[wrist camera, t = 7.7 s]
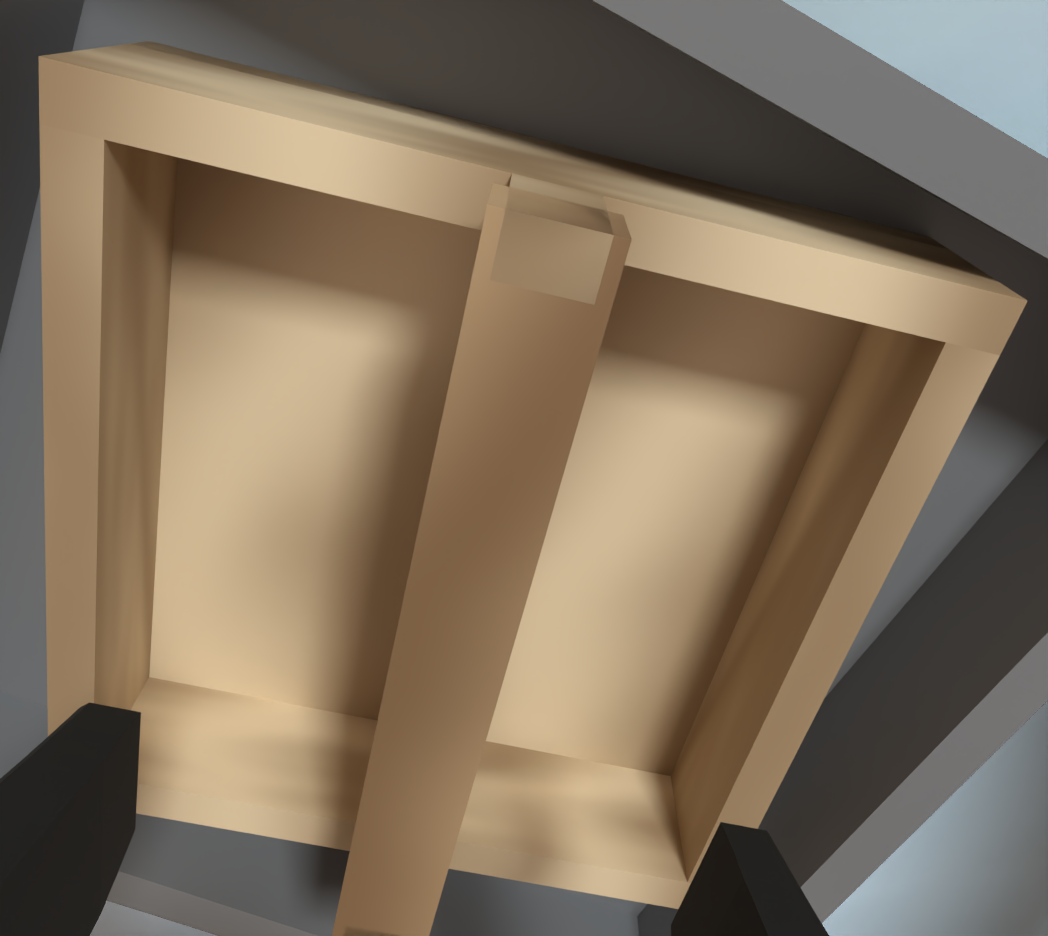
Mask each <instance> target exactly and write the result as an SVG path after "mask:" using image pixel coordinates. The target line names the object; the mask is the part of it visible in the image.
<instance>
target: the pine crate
mask: <svg viewBox="0 0 1048 936" xmlns="http://www.w3.org/2000/svg"><path fill="white" fill-rule="evenodd" d="M39 125H40V198H41V271H42V344H43V416H44V489H45V562H46V635H47V708H48V736H49V735H50V734H51V733H52V732H54V731H55V730H56V729H57V728H58V727H59V726H60V725H61V724H62V723H63V722H65V721H66V720H67V719H68V718H69V717H70V716H71V715H72V714H73V713H74V712H75V711H76V710H78V709H79V708H80V707H82V706H84V705H85V704H87V703H89V702H90V703H95V704H100V705H105V706H111V707H116V708H121V709H127V710H132V711H137V712H141V723H140V743H139V763H138V784H137V804H136V813H137V814H143V815H148V816H154V817H160V818H165V819H171V820H177V821H182V822H188V823H194V824H199V825H205V826H211V827H216V828H222V829H228V830H233V831H239V832H245V833H250V834H256V835H262V836H267V837H273V838H278V839H284V840H290V841H295V842H301V843H307V844H312V845H318V846H324V847H329V848H335V849H341V850H346V851H350V852H349V857H348V862H347V866H346V871H345V876H344V881H343V885H342V890H341V895H340V899H339V904H338V909H337V913H336V918H335V923H334V928H333V932H332V936H429V934H430V931H431V927H432V924H433V921H434V917H435V914H436V910H437V907H438V903H439V900H440V897H441V893H442V890H443V886H444V883H445V879H446V876H447V873H448V869H454V870H460V871H465V872H471V873H477V874H482V875H488V876H494V877H499V878H505V879H511V880H516V881H522V882H528V883H533V884H539V885H545V886H550V887H556V888H562V889H567V890H573V891H579V892H584V893H590V894H596V895H601V896H607V897H613V898H618V899H624V900H630V901H635V902H641V903H647V904H652V905H658V906H664V907H669V908H675V909H679V907H680V905H681V903H682V901H683V899H684V897H685V895H686V893H687V890H688V888H689V886H690V884H691V882H692V880H693V878H694V876H695V874H696V872H697V870H698V868H699V866H700V864H701V861H702V859H703V857H704V855H705V853H706V851H707V849H708V847H709V845H710V843H711V841H712V839H713V837H714V835H715V833H716V830H717V828H718V826H719V824H720V822H724V823H729V824H735V825H740V826H745V827H750V828H756V829H758V827H759V825H760V823H761V821H762V819H763V817H764V815H765V813H766V811H767V810H768V808H769V806H770V804H771V802H772V800H773V798H774V796H775V794H776V792H777V790H778V788H779V786H780V784H781V782H782V780H783V778H784V776H785V774H786V772H787V770H788V768H789V767H790V765H791V763H792V761H793V759H794V757H795V755H796V753H797V751H798V749H799V747H800V745H801V743H802V741H803V739H804V737H805V735H806V733H807V731H808V729H809V727H810V726H811V724H812V722H813V720H814V718H815V716H816V714H817V712H818V710H819V708H820V706H821V704H822V702H823V700H824V698H825V696H826V694H827V692H828V690H829V688H830V686H831V684H832V683H833V681H834V679H835V677H836V675H837V673H838V671H839V669H840V667H841V665H842V663H843V661H844V659H845V657H846V655H847V653H848V651H849V649H850V647H851V645H852V643H853V641H854V640H855V638H856V636H857V634H858V632H859V630H860V628H861V626H862V624H863V622H864V620H865V618H866V616H867V614H868V612H869V610H870V608H871V606H872V604H873V602H874V600H875V598H876V597H877V595H878V593H879V591H880V589H881V587H882V585H883V583H884V581H885V579H886V577H887V575H888V573H889V571H890V569H891V567H892V565H893V563H894V561H895V559H896V557H897V556H898V554H899V552H900V550H901V548H902V546H903V544H904V542H905V540H906V538H907V536H908V534H909V532H910V530H911V528H912V526H913V524H914V522H915V520H916V518H917V516H918V514H919V513H920V511H921V509H922V507H923V505H924V503H925V501H926V499H927V497H928V495H929V493H930V491H931V489H932V487H933V485H934V483H935V481H936V479H937V477H938V475H939V473H940V471H941V470H942V468H943V466H944V464H945V462H946V460H947V458H948V456H949V454H950V452H951V450H952V448H953V446H954V444H955V442H956V440H957V438H958V436H959V434H960V432H961V430H962V428H963V427H964V425H965V423H966V421H967V419H968V417H969V415H970V413H971V411H972V409H973V407H974V405H975V403H976V401H977V399H978V397H979V395H980V393H981V391H982V389H983V387H984V386H985V384H986V382H987V380H988V378H989V376H990V374H991V372H992V370H993V368H994V366H995V364H996V362H997V360H998V358H999V356H1000V354H1001V352H1002V350H1003V348H1004V346H1005V344H1006V343H1007V341H1008V339H1009V337H1010V335H1011V333H1012V331H1013V329H1014V327H1015V325H1016V323H1017V321H1018V319H1019V317H1020V315H1021V313H1022V311H1023V309H1024V307H1025V305H1026V303H1027V300H1026V299H1024V298H1023V297H1021V296H1020V295H1018V294H1017V293H1015V292H1014V291H1012V290H1010V289H1009V288H1007V287H1006V286H1004V285H1003V284H1001V283H1000V282H998V281H997V280H995V279H994V278H992V277H991V276H989V275H987V274H986V273H984V272H983V271H981V270H980V269H978V268H977V267H975V266H974V265H972V264H971V263H969V262H968V261H966V260H964V259H963V258H961V257H960V256H958V255H957V254H955V253H954V252H952V251H951V250H949V249H948V248H946V247H945V246H943V245H941V244H940V243H938V242H937V241H935V240H934V239H932V238H931V237H927V236H923V235H919V234H915V233H911V232H907V231H903V230H899V229H895V228H891V227H887V226H883V225H879V224H875V223H871V222H867V221H863V220H860V219H856V218H852V217H848V216H844V215H840V214H836V213H832V212H828V211H824V210H820V209H816V208H812V207H808V206H804V205H800V204H796V203H792V202H788V201H784V200H780V199H776V198H772V197H768V196H764V195H760V194H756V193H752V192H748V191H744V190H740V189H736V188H732V187H728V186H724V185H720V184H716V183H712V182H708V181H704V180H700V179H696V178H693V177H689V176H685V175H681V174H677V173H673V172H669V171H665V170H661V169H657V168H653V167H649V166H645V165H641V164H637V163H633V162H629V161H625V160H621V159H617V158H613V157H609V156H605V155H601V154H597V153H593V152H589V151H585V150H581V149H577V148H573V147H569V146H565V145H561V144H557V143H553V142H549V141H545V140H541V139H537V138H533V137H529V136H526V135H522V134H518V133H514V132H510V131H506V130H502V129H498V128H494V127H490V126H486V125H482V124H478V123H474V122H470V121H466V120H462V119H458V118H454V117H450V116H446V115H442V114H438V113H434V112H430V111H426V110H422V109H418V108H414V107H410V106H406V105H402V104H398V103H394V102H390V101H386V100H382V99H378V98H374V97H370V96H366V95H362V94H359V93H355V92H351V91H347V90H343V89H339V88H335V87H331V86H327V85H323V84H319V83H315V82H311V81H307V80H303V79H299V78H295V77H291V76H287V75H283V74H279V73H275V72H271V71H267V70H263V69H259V68H255V67H251V66H247V65H243V64H239V63H235V62H231V61H227V60H223V59H219V58H215V57H211V56H207V55H203V54H199V53H195V52H192V51H188V50H184V49H180V48H176V47H172V46H168V45H164V44H160V43H156V42H152V41H145V42H137V43H130V44H123V45H116V46H108V47H101V48H94V49H87V50H79V51H72V52H65V53H57V54H50V55H43V56H39Z"/></svg>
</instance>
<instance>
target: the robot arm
mask: <svg viewBox="0 0 1048 936" xmlns="http://www.w3.org/2000/svg"><path fill="white" fill-rule="evenodd" d="M140 723H141V712H137V711H132V710H127V709H121V708H116V707H111V706H105V705H100V704H95V703H90V702H89V703H87V704H85V705H84V706H82V707H80V708H79V709H78V710H76V711H75V712H74V713H73V714H72V715H71V716H70V717H69V718H68V719H67V720H66V721H65V722H63V723H62V724H61V725H60V726H59V727H58V728H57V729H56V730H55V731H54V732H52V733H51V734H50V735H49V736H48V737H47V738H46V739H45V740H44V741H43V742H41V743H40V744H39V745H38V746H37V747H36V748H35V749H34V750H32V751H31V752H30V753H29V754H28V755H27V756H26V757H25V758H23V759H22V760H21V761H20V762H19V763H18V764H17V765H15V766H14V767H13V768H12V769H11V770H10V771H8V772H7V773H6V774H5V775H4V776H3V777H2V778H0V936H89V935H90V933H91V932H92V930H93V928H94V926H95V924H96V922H97V920H98V918H99V916H100V914H101V912H102V909H103V907H104V905H105V902H106V900H107V898H108V895H109V893H110V890H111V888H112V886H113V883H114V881H115V879H116V876H117V874H118V871H119V869H120V866H121V864H122V861H123V859H124V856H125V854H126V851H127V849H128V846H129V844H130V841H131V839H132V836H133V834H134V831H135V825H136V804H137V784H138V763H139V743H140ZM671 936H829V935H828V933H827V932H826V930H825V928H824V927H823V925H822V923H821V922H820V920H819V918H818V917H817V915H816V913H815V911H814V910H813V908H812V906H811V905H810V903H809V901H808V899H807V898H806V896H805V894H804V893H803V891H802V889H801V888H800V886H799V884H798V882H797V881H796V879H795V877H794V875H793V874H792V872H791V870H790V869H789V867H788V865H787V864H786V862H785V860H784V858H783V857H782V855H781V853H780V852H779V850H778V848H777V847H776V845H775V843H774V842H773V840H772V838H771V837H770V835H769V833H768V831H766V830H761V829H756V828H750V827H745V826H740V825H735V824H729V823H724V822H720V824H719V826H718V828H717V830H716V833H715V835H714V837H713V839H712V841H711V843H710V845H709V847H708V849H707V851H706V853H705V855H704V857H703V859H702V861H701V864H700V866H699V868H698V870H697V872H696V874H695V876H694V878H693V880H692V882H691V884H690V886H689V888H688V890H687V893H686V895H685V897H684V899H683V901H682V903H681V905H680V907H679V909H678V911H677V913H676V915H675V917H674V919H673V921H672V924H671Z"/></svg>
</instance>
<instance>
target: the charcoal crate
mask: <svg viewBox="0 0 1048 936" xmlns="http://www.w3.org/2000/svg"><path fill="white" fill-rule="evenodd" d="M145 41H152V42H156V43H160V44H164V45H168V46H172V47H176V48H180V49H184V50H188V51H192V52H195V53H199V54H203V55H207V56H211V57H215V58H219V59H223V60H227V61H231V62H235V63H239V64H243V65H247V66H251V67H255V68H259V69H263V70H267V71H271V72H275V73H279V74H283V75H287V76H291V77H295V78H299V79H303V80H307V81H311V82H315V83H319V84H323V85H327V86H331V87H335V88H339V89H343V90H347V91H351V92H355V93H359V94H362V95H366V96H370V97H374V98H378V99H382V100H386V101H390V102H394V103H398V104H402V105H406V106H410V107H414V108H418V109H422V110H426V111H430V112H434V113H438V114H442V115H446V116H450V117H454V118H458V119H462V120H466V121H470V122H474V123H478V124H482V125H486V126H490V127H494V128H498V129H502V130H506V131H510V132H514V133H518V134H522V135H526V136H529V137H533V138H537V139H541V140H545V141H549V142H553V143H557V144H561V145H565V146H569V147H573V148H577V149H581V150H585V151H589V152H593V153H597V154H601V155H605V156H609V157H613V158H617V159H621V160H625V161H629V162H633V163H637V164H641V165H645V166H649V167H653V168H657V169H661V170H665V171H669V172H673V173H677V174H681V175H685V176H689V177H693V178H696V179H700V180H704V181H708V182H712V183H716V184H720V185H724V186H728V187H732V188H736V189H740V190H744V191H748V192H752V193H756V194H760V195H764V196H768V197H772V198H776V199H780V200H784V201H788V202H792V203H796V204H800V205H804V206H808V207H812V208H816V209H820V210H824V211H828V212H832V213H836V214H840V215H844V216H848V217H852V218H856V219H860V220H863V221H867V222H871V223H875V224H879V225H883V226H887V227H891V228H895V229H899V230H903V231H907V232H911V233H915V234H919V235H923V236H927V237H931V238H932V239H934V240H935V241H937V242H938V243H940V244H941V245H943V246H945V247H946V248H948V249H949V250H951V251H952V252H954V253H955V254H957V255H958V256H960V257H961V258H963V259H964V260H966V261H968V262H969V263H971V264H972V265H974V266H975V267H977V268H978V269H980V270H981V271H983V272H984V273H986V274H987V275H989V276H991V277H992V278H994V279H995V280H997V281H998V282H1000V283H1001V284H1003V285H1004V286H1006V287H1007V288H1009V289H1010V290H1012V291H1014V292H1015V293H1017V294H1018V295H1020V296H1021V297H1023V298H1024V299H1026V300H1027V303H1026V305H1025V307H1024V309H1023V311H1022V313H1021V315H1020V317H1019V319H1018V321H1017V323H1016V325H1015V327H1014V329H1013V331H1012V333H1011V335H1010V337H1009V339H1008V341H1007V343H1006V344H1005V346H1004V348H1003V350H1002V352H1001V354H1000V356H999V358H998V360H997V362H996V364H995V366H994V368H993V370H992V372H991V374H990V376H989V378H988V380H987V382H986V384H985V386H984V387H983V389H982V391H981V393H980V395H979V397H978V399H977V401H976V403H975V405H974V407H973V409H972V411H971V413H970V415H969V417H968V419H967V421H966V423H965V425H964V427H963V428H962V430H961V432H960V434H959V436H958V438H957V440H956V442H955V444H954V446H953V448H952V450H951V452H950V454H949V456H948V458H947V460H946V462H945V464H944V466H943V468H942V470H941V471H940V473H939V475H938V477H937V479H936V481H935V483H934V485H933V487H932V489H931V491H930V493H929V495H928V497H927V499H926V501H925V503H924V505H923V507H922V509H921V511H920V513H919V514H918V516H917V518H916V520H915V522H914V524H913V526H912V528H911V530H910V532H909V534H908V536H907V538H906V540H905V542H904V544H903V546H902V548H901V550H900V552H899V554H898V556H897V557H896V559H895V561H894V563H893V565H892V567H891V569H890V571H889V573H888V575H887V577H886V579H885V581H884V583H883V585H882V587H881V589H880V591H879V593H878V595H877V597H876V598H875V600H874V602H873V604H872V606H871V608H870V610H869V612H868V614H867V616H866V618H865V620H864V622H863V624H862V626H861V628H860V630H859V632H858V634H857V636H856V638H855V640H854V641H853V643H852V645H851V647H850V649H849V651H848V653H847V655H846V657H845V659H844V661H843V663H842V665H841V667H840V669H839V671H838V673H837V675H836V677H835V679H834V681H833V683H832V684H831V686H830V688H829V690H828V692H827V694H826V696H825V698H824V700H823V702H822V704H821V706H820V708H819V710H818V712H817V714H816V716H815V718H814V720H813V722H812V724H811V726H810V727H809V729H808V731H807V733H806V735H805V737H804V739H803V741H802V743H801V745H800V747H799V749H798V751H797V753H796V755H795V757H794V759H793V761H792V763H791V765H790V767H789V768H788V770H787V772H786V774H785V776H784V778H783V780H782V782H781V784H780V786H779V788H778V790H777V792H776V794H775V796H774V798H773V800H772V802H771V804H770V806H769V808H768V810H767V811H766V813H765V815H764V817H763V819H762V821H761V823H760V825H759V827H758V829H761V830H766V831H768V833H769V835H770V837H771V838H772V840H773V842H774V843H775V845H776V847H777V848H778V850H779V852H780V853H781V855H782V857H783V858H784V860H785V862H786V864H787V865H788V867H789V869H790V870H791V872H792V874H793V875H794V877H795V879H796V881H797V882H798V884H799V886H800V888H801V889H802V891H803V893H804V894H805V896H806V898H807V899H808V901H809V903H810V905H811V906H812V908H813V910H814V911H815V913H816V915H817V917H818V918H819V920H820V922H821V923H822V922H823V921H824V920H825V919H826V918H827V917H828V916H829V915H830V914H831V913H833V912H834V911H835V910H836V909H837V908H838V907H839V906H840V905H841V904H842V903H843V902H844V901H845V900H846V899H847V898H848V897H849V896H850V895H851V894H852V893H853V892H854V891H855V890H856V889H857V888H858V887H859V886H860V885H861V884H862V883H863V882H864V881H865V880H866V879H867V878H868V877H869V876H870V875H871V874H872V873H873V872H874V871H875V870H876V869H877V868H878V867H879V866H880V865H881V864H882V863H883V862H884V861H885V860H886V859H887V858H888V857H889V856H890V855H891V854H892V853H893V852H894V851H895V850H896V849H897V848H898V847H899V846H900V845H901V844H903V843H904V842H905V841H906V840H907V839H908V838H909V837H910V836H911V835H912V834H913V833H914V832H915V831H916V830H917V829H918V828H919V827H920V826H921V825H922V824H923V823H924V822H925V821H926V820H927V819H928V818H929V817H930V816H931V815H932V814H933V813H934V812H935V811H936V810H937V809H938V808H939V807H940V806H941V805H942V804H943V803H944V802H945V801H946V800H947V799H948V798H949V797H950V796H951V795H952V794H953V793H954V792H955V791H956V790H957V789H958V788H959V787H960V786H961V785H962V784H963V783H964V782H965V781H966V780H967V779H968V778H969V777H970V776H972V775H973V774H974V773H975V772H976V771H977V770H978V769H979V768H980V767H981V766H982V765H983V764H984V763H985V762H986V761H987V760H988V759H989V758H990V757H991V756H992V755H993V754H994V753H995V752H996V751H997V750H998V749H999V748H1000V747H1001V746H1002V745H1003V744H1004V743H1005V742H1006V741H1007V740H1008V739H1009V738H1010V737H1011V736H1012V735H1013V734H1014V733H1015V732H1016V731H1017V730H1018V729H1019V728H1020V727H1021V726H1022V725H1023V724H1024V723H1025V722H1026V721H1027V720H1028V719H1029V718H1030V717H1031V716H1032V715H1033V714H1034V713H1035V712H1036V711H1037V710H1038V709H1039V708H1041V707H1042V706H1043V705H1044V704H1045V703H1046V702H1047V701H1048V159H1047V158H1046V157H1044V156H1042V155H1041V154H1039V153H1037V152H1036V151H1034V150H1032V149H1031V148H1029V147H1027V146H1026V145H1024V144H1022V143H1021V142H1019V141H1017V140H1015V139H1014V138H1012V137H1010V136H1009V135H1007V134H1005V133H1004V132H1002V131H1000V130H999V129H997V128H995V127H994V126H992V125H990V124H989V123H987V122H985V121H984V120H982V119H980V118H978V117H977V116H975V115H973V114H972V113H970V112H968V111H967V110H965V109H963V108H962V107H960V106H958V105H957V104H955V103H953V102H952V101H950V100H948V99H946V98H945V97H943V96H941V95H940V94H938V93H936V92H935V91H933V90H931V89H930V88H928V87H926V86H925V85H923V84H921V83H920V82H918V81H916V80H914V79H913V78H911V77H909V76H908V75H906V74H904V73H903V72H901V71H899V70H898V69H896V68H894V67H893V66H891V65H889V64H888V63H886V62H884V61H882V60H881V59H879V58H877V57H876V56H874V55H872V54H871V53H869V52H867V51H866V50H864V49H862V48H861V47H859V46H857V45H856V44H854V43H852V42H851V41H849V40H847V39H845V38H844V37H842V36H840V35H839V34H837V33H835V32H834V31H832V30H830V29H829V28H827V27H825V26H824V25H822V24H820V23H819V22H817V21H815V20H813V19H812V18H810V17H808V16H807V15H805V14H803V13H802V12H800V11H798V10H797V9H795V8H793V7H792V6H790V5H788V4H787V3H785V2H783V1H781V0H0V778H2V777H3V776H4V775H5V774H6V773H7V772H8V771H10V770H11V769H12V768H13V767H14V766H15V765H17V764H18V763H19V762H20V761H21V760H22V759H23V758H25V757H26V756H27V755H28V754H29V753H30V752H31V751H32V750H34V749H35V748H36V747H37V746H38V745H39V744H40V743H41V742H43V741H44V740H45V739H46V738H47V737H48V708H47V635H46V562H45V489H44V416H43V344H42V271H41V198H40V125H39V56H43V55H50V54H57V53H65V52H72V51H79V50H87V49H94V48H101V47H108V46H116V45H123V44H130V43H137V42H145ZM349 852H350V851H346V850H341V849H335V848H329V847H324V846H318V845H312V844H307V843H301V842H295V841H290V840H284V839H278V838H273V837H267V836H262V835H256V834H250V833H245V832H239V831H233V830H228V829H222V828H216V827H211V826H205V825H199V824H194V823H188V822H182V821H177V820H171V819H165V818H160V817H154V816H148V815H143V814H137V813H136V825H135V831H134V834H133V836H132V839H131V841H130V844H129V846H128V849H127V851H126V854H125V856H124V859H123V861H122V864H121V866H120V869H119V871H118V874H117V876H116V879H115V881H114V883H113V886H112V888H111V890H110V893H109V895H108V898H107V901H111V902H114V903H117V904H120V905H123V906H126V907H130V908H133V909H136V910H139V911H142V912H145V913H149V914H152V915H155V916H158V917H161V918H164V919H167V920H171V921H174V922H177V923H180V924H183V925H186V926H190V927H193V928H196V929H199V930H202V931H205V932H208V933H212V934H215V935H218V936H332V932H333V928H334V923H335V918H336V913H337V909H338V904H339V899H340V895H341V890H342V885H343V881H344V876H345V871H346V866H347V862H348V857H349ZM677 911H678V909H675V908H669V907H664V906H658V905H652V904H647V903H641V902H635V901H630V900H624V899H618V898H613V897H607V896H601V895H596V894H590V893H584V892H579V891H573V890H567V889H562V888H556V887H550V886H545V885H539V884H533V883H528V882H522V881H516V880H511V879H505V878H499V877H494V876H488V875H482V874H477V873H471V872H465V871H460V870H454V869H448V873H447V876H446V879H445V883H444V886H443V890H442V893H441V897H440V900H439V903H438V907H437V910H436V914H435V917H434V921H433V924H432V927H431V931H430V934H429V936H671V924H672V921H673V919H674V917H675V915H676V913H677Z"/></svg>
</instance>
